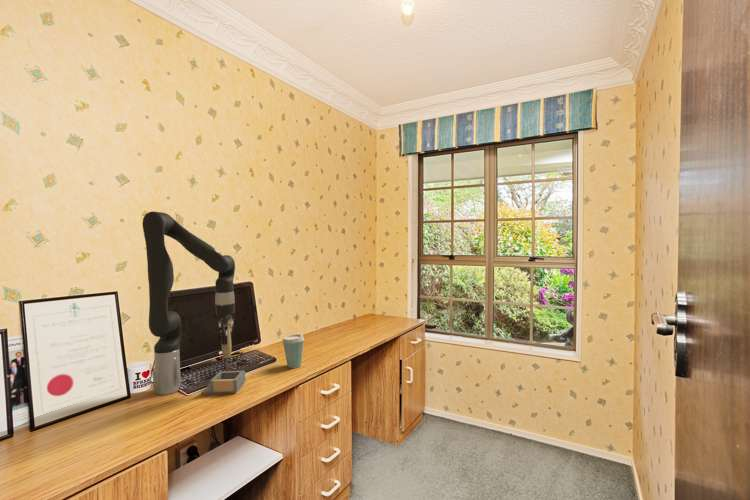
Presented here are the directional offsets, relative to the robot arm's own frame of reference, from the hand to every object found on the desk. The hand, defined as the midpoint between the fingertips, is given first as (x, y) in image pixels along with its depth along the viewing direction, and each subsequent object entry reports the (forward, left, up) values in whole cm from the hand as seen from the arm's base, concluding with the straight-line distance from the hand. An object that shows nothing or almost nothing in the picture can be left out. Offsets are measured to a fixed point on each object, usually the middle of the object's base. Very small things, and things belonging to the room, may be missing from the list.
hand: (226, 342), depth 156 cm
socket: (-2, 0, -20) cm, 20 cm away
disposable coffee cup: (+23, +26, -20) cm, 40 cm away
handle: (0, 0, -6) cm, 6 cm away
